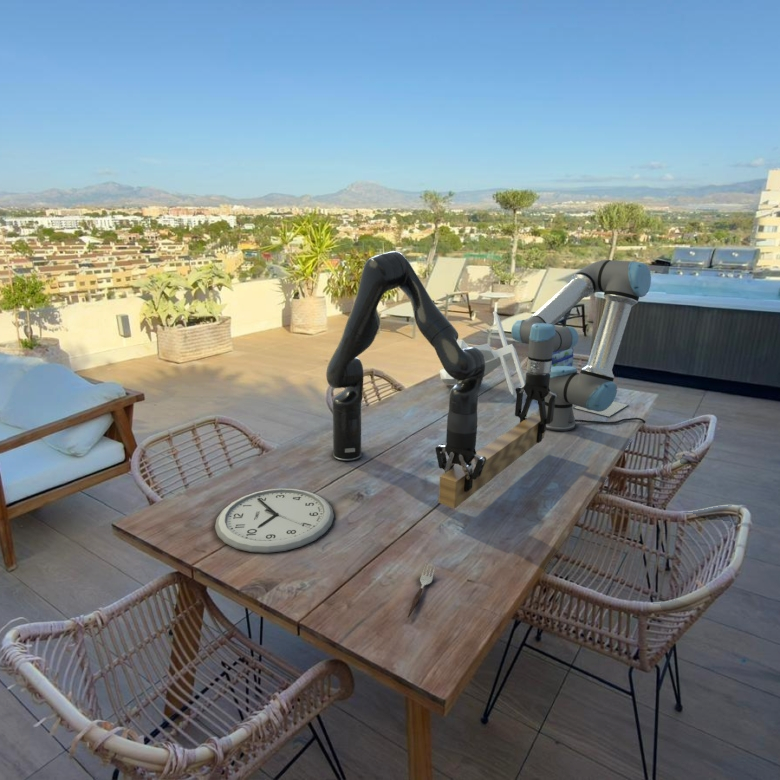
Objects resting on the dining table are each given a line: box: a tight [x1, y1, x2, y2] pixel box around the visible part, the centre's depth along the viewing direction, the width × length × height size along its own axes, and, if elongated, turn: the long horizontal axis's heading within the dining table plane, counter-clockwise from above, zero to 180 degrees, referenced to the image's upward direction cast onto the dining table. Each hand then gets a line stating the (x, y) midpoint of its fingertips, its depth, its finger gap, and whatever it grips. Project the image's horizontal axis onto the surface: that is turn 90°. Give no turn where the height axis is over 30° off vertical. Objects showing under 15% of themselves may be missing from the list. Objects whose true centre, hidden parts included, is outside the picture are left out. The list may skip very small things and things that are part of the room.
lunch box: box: [551, 347, 574, 367], centre depth 247 cm, size 26×11×21 cm, turn 134°
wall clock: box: [214, 488, 335, 554], centre depth 135 cm, size 30×2×30 cm
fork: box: [407, 563, 436, 618], centre depth 108 cm, size 3×16×2 cm, turn 160°
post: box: [438, 413, 546, 510], centre depth 155 cm, size 60×5×8 cm, turn 143°
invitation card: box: [573, 400, 629, 418], centre depth 226 cm, size 21×1×15 cm
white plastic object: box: [438, 310, 527, 400], centre depth 245 cm, size 37×45×31 cm
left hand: (458, 487), depth 137 cm, fingers closed on post, 4 cm apart
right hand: (531, 439), depth 175 cm, fingers closed on post, 5 cm apart
